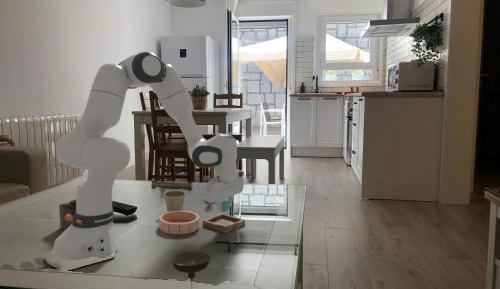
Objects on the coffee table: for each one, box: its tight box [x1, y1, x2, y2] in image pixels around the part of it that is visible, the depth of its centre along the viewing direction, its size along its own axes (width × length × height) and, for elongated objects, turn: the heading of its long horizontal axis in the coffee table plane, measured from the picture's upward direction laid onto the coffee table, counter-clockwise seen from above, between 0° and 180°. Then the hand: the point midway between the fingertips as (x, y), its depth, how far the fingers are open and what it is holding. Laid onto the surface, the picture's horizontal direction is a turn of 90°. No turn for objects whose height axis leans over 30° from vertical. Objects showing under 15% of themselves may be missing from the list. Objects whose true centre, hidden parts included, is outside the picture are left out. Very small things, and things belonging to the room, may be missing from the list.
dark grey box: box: [58, 185, 79, 231], centre depth 157 cm, size 16×11×18 cm
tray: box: [202, 212, 246, 234], centre depth 168 cm, size 12×12×2 cm
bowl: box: [158, 210, 201, 235], centre depth 165 cm, size 16×16×4 cm
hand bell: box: [202, 167, 214, 203], centre depth 200 cm, size 8×8×16 cm
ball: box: [220, 199, 231, 213], centre depth 168 cm, size 4×4×4 cm
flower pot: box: [163, 190, 187, 212], centre depth 180 cm, size 9×9×9 cm
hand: (224, 208), depth 168 cm, fingers closed on ball, 4 cm apart
